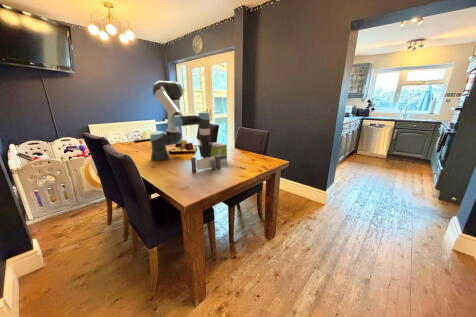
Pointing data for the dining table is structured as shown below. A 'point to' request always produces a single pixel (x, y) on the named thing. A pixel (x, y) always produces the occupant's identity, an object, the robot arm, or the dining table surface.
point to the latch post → (218, 162)
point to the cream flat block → (204, 163)
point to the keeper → (213, 165)
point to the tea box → (219, 151)
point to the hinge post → (193, 164)
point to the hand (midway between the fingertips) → (206, 165)
